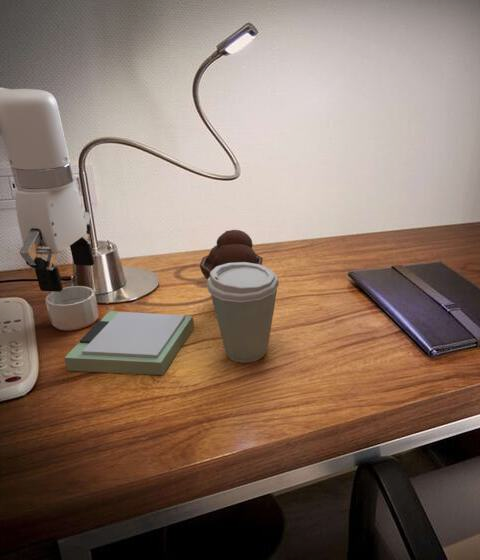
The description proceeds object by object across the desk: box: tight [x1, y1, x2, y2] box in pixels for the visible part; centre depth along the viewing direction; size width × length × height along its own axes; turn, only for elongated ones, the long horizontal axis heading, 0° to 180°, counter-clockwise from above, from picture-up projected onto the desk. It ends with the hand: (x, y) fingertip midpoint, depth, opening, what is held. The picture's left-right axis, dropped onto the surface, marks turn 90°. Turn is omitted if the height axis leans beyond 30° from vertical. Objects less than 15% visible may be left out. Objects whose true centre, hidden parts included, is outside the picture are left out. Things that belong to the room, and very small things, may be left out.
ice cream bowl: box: [199, 229, 264, 281], centre depth 96 cm, size 11×11×15 cm
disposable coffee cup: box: [206, 262, 280, 364], centre depth 83 cm, size 11×11×15 cm
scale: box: [64, 310, 195, 376], centre depth 85 cm, size 14×14×3 cm
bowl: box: [44, 285, 100, 332], centre depth 90 cm, size 7×7×5 cm
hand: (69, 277), depth 87 cm, fingers open, 9 cm apart
